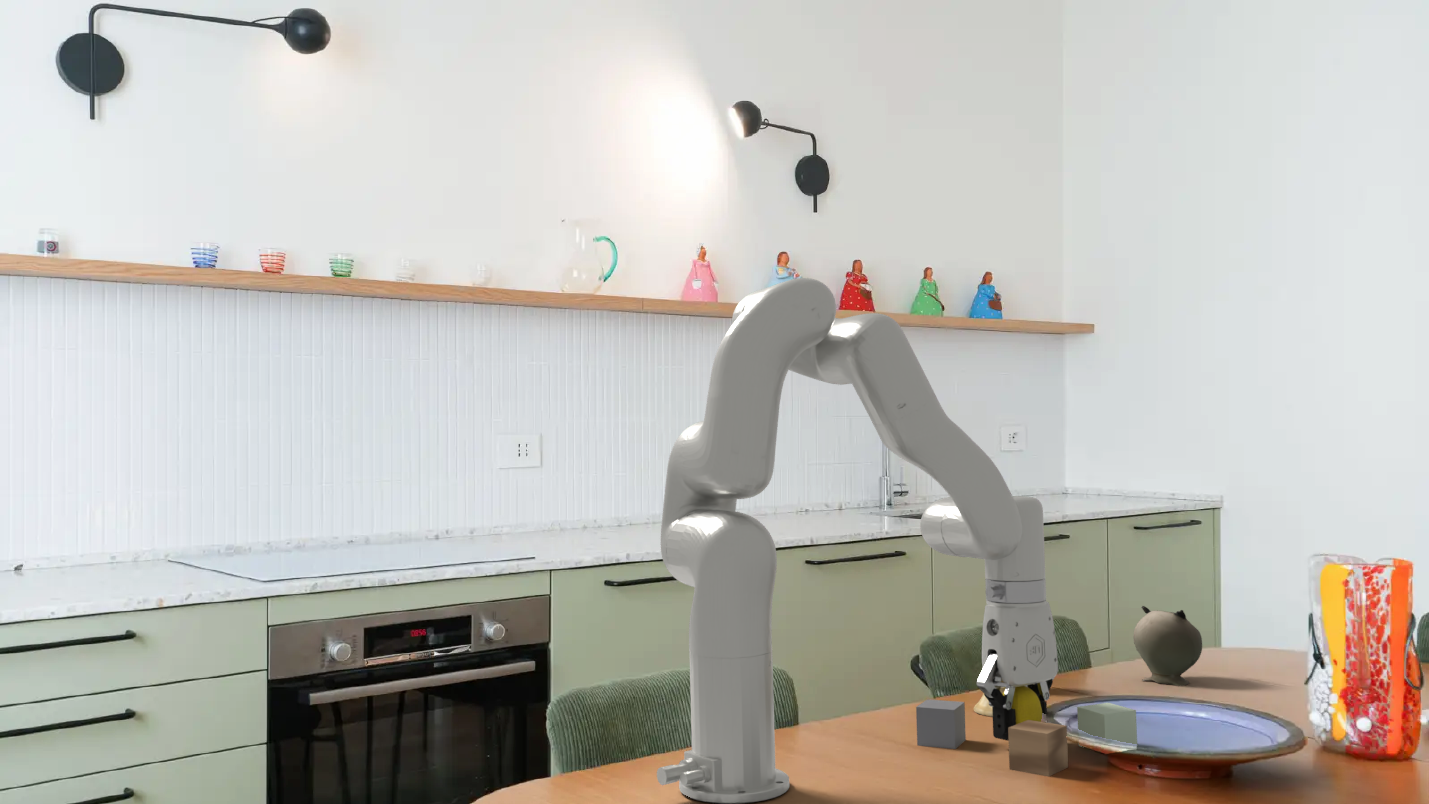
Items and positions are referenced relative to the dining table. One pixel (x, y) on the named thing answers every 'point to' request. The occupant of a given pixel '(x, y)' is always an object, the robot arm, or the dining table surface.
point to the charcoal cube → (940, 724)
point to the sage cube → (1108, 722)
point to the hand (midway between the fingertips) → (1020, 733)
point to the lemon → (1026, 705)
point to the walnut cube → (1038, 747)
